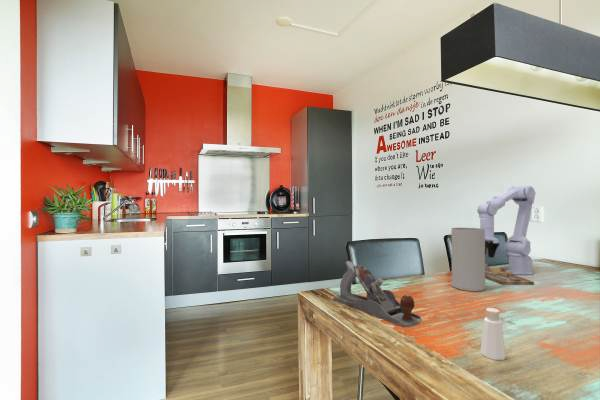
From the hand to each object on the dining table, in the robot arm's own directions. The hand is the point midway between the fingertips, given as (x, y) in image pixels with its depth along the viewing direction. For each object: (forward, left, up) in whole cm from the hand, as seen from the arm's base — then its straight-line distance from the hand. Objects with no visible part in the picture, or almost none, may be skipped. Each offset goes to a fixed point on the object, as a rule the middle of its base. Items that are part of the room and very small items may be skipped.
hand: (487, 256), depth 154 cm
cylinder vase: (+20, +19, -10) cm, 29 cm away
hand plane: (+66, +45, -10) cm, 80 cm away
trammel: (-4, +4, -9) cm, 10 cm away
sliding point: (-3, +6, -8) cm, 11 cm away
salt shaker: (+45, +77, -10) cm, 90 cm away
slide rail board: (-4, +4, -10) cm, 12 cm away
